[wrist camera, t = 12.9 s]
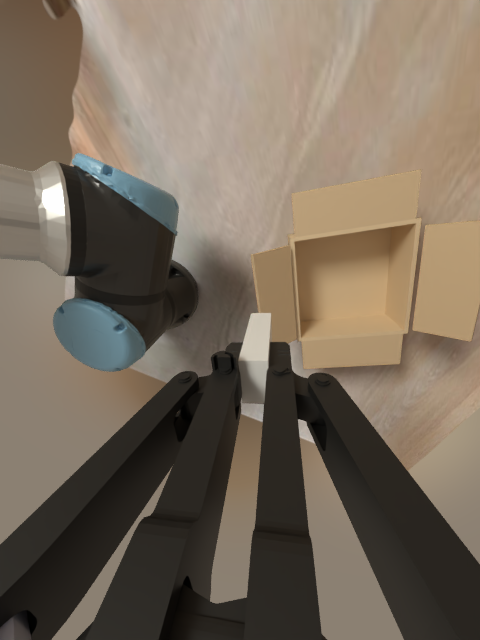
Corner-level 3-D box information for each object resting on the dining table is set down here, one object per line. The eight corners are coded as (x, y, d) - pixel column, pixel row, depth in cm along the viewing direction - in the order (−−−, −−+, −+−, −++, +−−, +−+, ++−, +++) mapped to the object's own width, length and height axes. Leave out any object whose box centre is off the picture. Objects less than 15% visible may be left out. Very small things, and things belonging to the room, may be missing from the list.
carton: (296, 348, 52) (299, 369, 45) (284, 198, 41) (286, 194, 34) (384, 342, 49) (404, 363, 42) (398, 177, 38) (427, 168, 31)
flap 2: (412, 330, 38) (470, 341, 33) (425, 225, 32) (499, 219, 27) (413, 328, 39) (471, 340, 33) (427, 224, 33) (500, 218, 28)
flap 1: (294, 337, 42) (264, 353, 39) (286, 245, 36) (250, 254, 33) (296, 338, 42) (266, 354, 39) (289, 245, 36) (253, 254, 33)
